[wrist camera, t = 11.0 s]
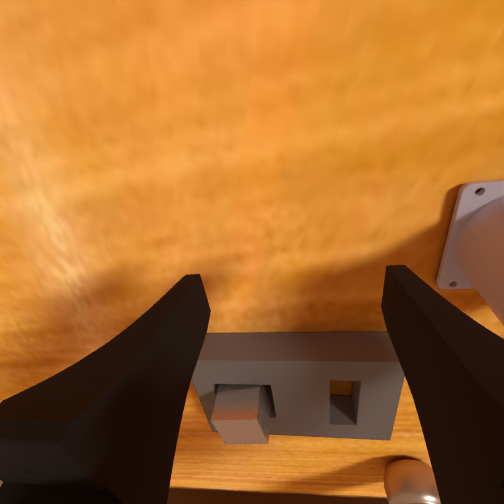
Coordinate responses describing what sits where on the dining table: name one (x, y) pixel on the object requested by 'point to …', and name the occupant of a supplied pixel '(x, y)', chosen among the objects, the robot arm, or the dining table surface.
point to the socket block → (308, 379)
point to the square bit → (242, 413)
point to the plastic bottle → (410, 483)
